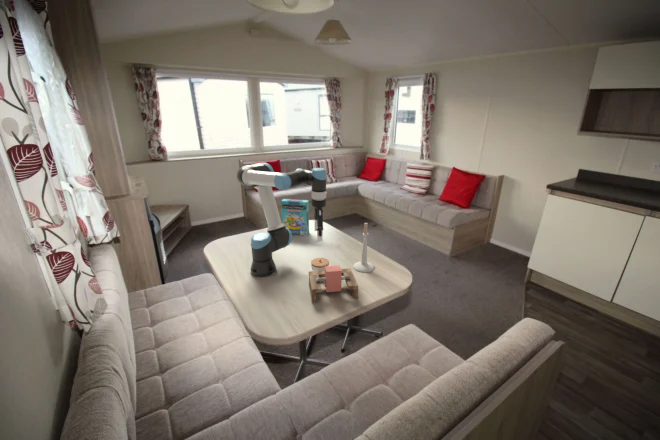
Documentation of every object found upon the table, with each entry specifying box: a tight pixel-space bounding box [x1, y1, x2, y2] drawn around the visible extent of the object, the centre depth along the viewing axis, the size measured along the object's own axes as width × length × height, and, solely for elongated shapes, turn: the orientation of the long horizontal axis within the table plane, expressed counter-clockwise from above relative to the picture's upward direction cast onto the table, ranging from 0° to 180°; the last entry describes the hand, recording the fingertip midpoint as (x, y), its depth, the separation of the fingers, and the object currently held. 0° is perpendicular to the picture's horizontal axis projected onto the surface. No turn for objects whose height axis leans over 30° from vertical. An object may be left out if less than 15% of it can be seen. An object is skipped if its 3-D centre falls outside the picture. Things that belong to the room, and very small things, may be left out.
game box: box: [280, 198, 310, 236], centre depth 237 cm, size 20×6×27 cm, turn 81°
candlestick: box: [353, 222, 375, 273], centre depth 186 cm, size 13×13×30 cm
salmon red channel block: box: [324, 265, 343, 293], centre depth 162 cm, size 8×6×12 cm
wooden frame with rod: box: [308, 267, 359, 304], centre depth 165 cm, size 24×18×10 cm
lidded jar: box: [310, 257, 330, 271], centre depth 183 cm, size 11×11×9 cm
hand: (318, 235), depth 166 cm, fingers open, 13 cm apart
